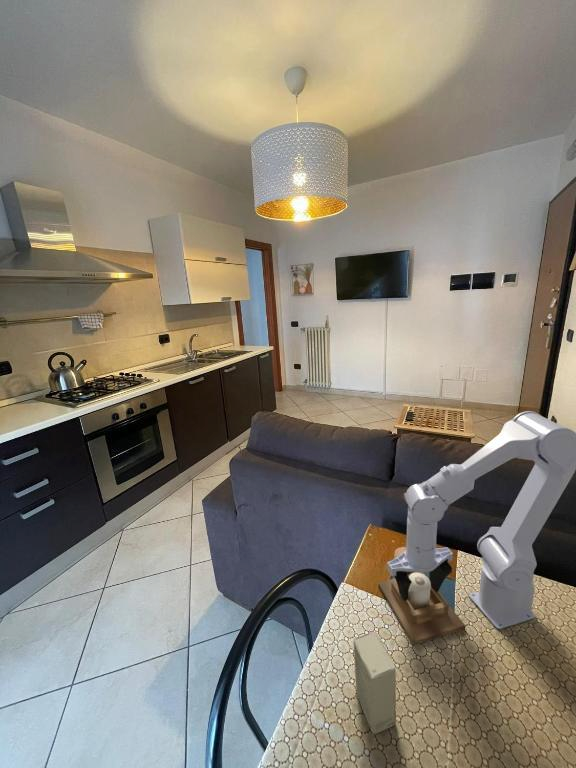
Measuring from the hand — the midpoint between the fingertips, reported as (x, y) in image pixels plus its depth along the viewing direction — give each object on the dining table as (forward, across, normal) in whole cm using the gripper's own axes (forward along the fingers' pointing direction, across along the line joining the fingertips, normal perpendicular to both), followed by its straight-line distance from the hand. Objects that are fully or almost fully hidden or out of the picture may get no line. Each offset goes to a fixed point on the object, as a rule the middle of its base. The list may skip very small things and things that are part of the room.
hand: (418, 592), depth 69 cm
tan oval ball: (+4, -4, -11) cm, 12 cm away
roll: (+3, 0, 0) cm, 3 cm away
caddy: (+4, 0, 0) cm, 4 cm away
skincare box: (+4, +18, +14) cm, 23 cm away
